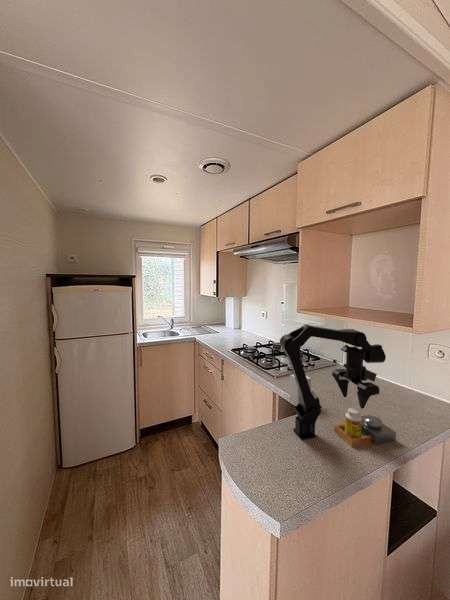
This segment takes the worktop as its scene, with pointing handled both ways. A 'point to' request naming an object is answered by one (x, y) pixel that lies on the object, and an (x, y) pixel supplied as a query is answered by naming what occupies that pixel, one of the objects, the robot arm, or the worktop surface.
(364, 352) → the robot arm
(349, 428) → the supplement bottle
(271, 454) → the worktop surface
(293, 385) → the supplement box
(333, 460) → the worktop surface
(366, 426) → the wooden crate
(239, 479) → the worktop surface
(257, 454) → the worktop surface
